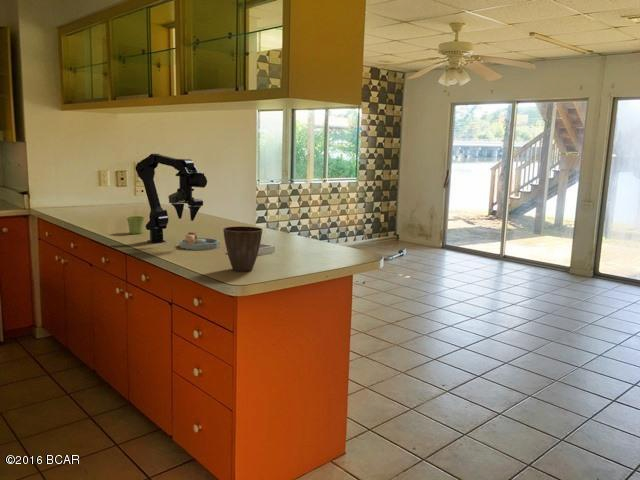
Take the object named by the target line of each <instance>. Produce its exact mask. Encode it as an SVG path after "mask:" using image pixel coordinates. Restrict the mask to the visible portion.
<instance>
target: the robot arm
mask: <svg viewBox="0 0 640 480" xmlns="http://www.w3.org/2000/svg"><path fill="white" fill-rule="evenodd" d="M159 164H161V165H164V166H167V167H168V166H169V167H172V168H173V169H175V171H178V172H177V173H176V174H175V177H179V179H178V180H179V185H178V186H179V187H178V188H177V189H176V192H174V193H171V194H169V195H168V203H169V204H170V205H171V206H172V207H174V209H175V212H176V214H177V218H178V219H179V220H182V216H183V212H184V208H185V204H187V205H188V206H187V207H188V209H189V215H190V221H191V222H193V221H194V220H195V218H196V216H197V214H198V212H199V210H200V208H202V206H204V201H203V199H201V198H200V199H199V198H195V197H193V192H194V191H195V188H205V187H206V186H207V185H208V180H207V177H206V176H205V172H199V170H198V169H197V167H196V165H195V163H194V161H193V160H192V159H190V158H189V159H187V158H175V157H171V156H166V155H162V154H160V153H151V154H149V155H148V156H146V157H145V158H143V159H142V160H140V161H138V162H137V163H136V166H135V172H136V175H137V176H138V178H139V179H141V180H142V184H143V186H144V190H145V194H146V197H147V201H148V205H149V208H150V211H149V215H148V216H149V221H148V222H147V223H146V224H145V230H147V231H149V240H148V239H147V242H148V243H152V244H156V243H157V244H158V243H165V242H166V240H164V229H167V226H168V223H169V219H170V217H169V215H168V211H167V209H163V208H162V206H161V202H160V198H159V194H158V191H157V188H156V184H155V180H154V178H155V174H156V172H155V171H156V168H158V166H159Z"/></svg>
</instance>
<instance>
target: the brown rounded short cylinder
mask: <svg viewBox="0 0 640 480" xmlns="http://www.w3.org/2000/svg"><path fill="white" fill-rule="evenodd" d="M187 235H195V239H197V238H198V232H195V231H193V232H192V231H191V232H190V231H189V232H188V233H187Z"/></svg>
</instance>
